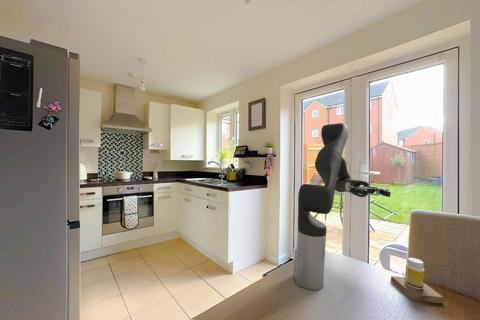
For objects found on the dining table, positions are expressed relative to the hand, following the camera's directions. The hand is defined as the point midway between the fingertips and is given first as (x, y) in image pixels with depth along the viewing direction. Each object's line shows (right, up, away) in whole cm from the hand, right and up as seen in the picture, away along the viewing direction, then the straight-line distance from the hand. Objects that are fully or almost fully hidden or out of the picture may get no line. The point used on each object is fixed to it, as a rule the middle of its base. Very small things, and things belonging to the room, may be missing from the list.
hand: (377, 193), depth 82 cm
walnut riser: (+4, -30, -12) cm, 33 cm away
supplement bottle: (+4, -29, -12) cm, 31 cm away
